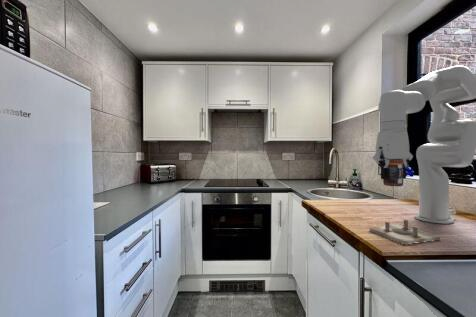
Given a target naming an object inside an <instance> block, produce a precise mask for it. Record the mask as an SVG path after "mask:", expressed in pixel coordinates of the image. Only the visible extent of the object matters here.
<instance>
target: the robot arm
mask: <svg viewBox="0 0 476 317" xmlns="http://www.w3.org/2000/svg"><path fill="white" fill-rule="evenodd" d="M379 98H380V99H379V103H378V106H377V107H378V112H379V115H380V116H379V117H380V118H379V119H380V121H379V122H380V124H379V125H380V129H379V130H380V131H378V133H377V137H376V143H375V144H376V145H375V154H374V156H372V159H373V161H374V162H375V163H376V164H377V165H378V167H379V168H380V179H381V180H383V179H386V180H389V168H387V167H388V165H389V162H390V160H394V159H401V160H402V161H403V180H405V179H407V168H408V164H409V163H411V160H412V159H413V157H414V155H413V154H412V153H411V152H410V141H409V140H410V139H409V135H408V134H409V133H408V131H407V127H408V124H407V115H408V114H414V113H418V112H421V111H422V110H423V109H424V108H425V105H426V102H427V101H429V104H430V107H431V109H432V113H433V118H432V121H431V123H430V126H429V129H428V132H427V141H428V142H429V143H428V142H427V143H424V144H422V145H420V146H418V147H417V149H416V151H415V152H416V153H415V156H416V160H417V165H418V201H419V202H418V212H417V213H415V214H414V218H415V219H417V220H419V221H422V222H426V223H432V224H433V223H434V224H445V225H447V224H453V223H455V219H454V218H453V217H451V215H456V214H457V210H456V209H454V208H453V209H450V208H449V207H450V198H449V197H450V179H449V175H448V173H447V172H446V171H445V169H443V168H466V167H469V166H470V165H471V164H472V163H473V160H474V158H475V155H476V121H475V120H472V119H460V112H459V111H458V110H457V109H456V108H455V107H453V106H452V105H450V104H451V103H457V102H458V103H459V102H465V101H471V100H475V99H476V74H475V73H474V72H473V71H472V70H471V69H470V68H469V67H467V66H465V65H463V64H462V65H454V66H449V67H446V68H442V69H439V70H435V71H432V72H428V74H426V75H424V76H423V77H422V78H420V79H418V80H417V81H415V82H413V83H410V84H407V85H405V86H403V87H401V88H398V89H396V90H389V91H385V92H383V93H381V95H380V97H379ZM384 161H385V163H384Z"/></svg>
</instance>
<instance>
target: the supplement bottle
mask: <svg viewBox="0 0 476 317" xmlns="http://www.w3.org/2000/svg"><path fill="white" fill-rule="evenodd" d="M384 163H385V161H384ZM387 168H389V180H386V179H382V181H383V183H382V184H383V185H384V186H387V187H402V186H404V179H403V161H402V160H401V159H394V160H390V162H389V165H388V167H387Z"/></svg>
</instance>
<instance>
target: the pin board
mask: <svg viewBox="0 0 476 317" xmlns="http://www.w3.org/2000/svg"><path fill="white" fill-rule="evenodd" d="M369 232H371V233H374V234H375V235H378V234H379V235H378V236H380V237H383V236H384V237H383V238H385V239H388V238H389V239H388V240H391V239H392V241H393V240H395V241H398V242H401V243H403V244H409V243H415V242H424V241H432V240H439V239H440V240H441V236H440V235H436V234H432V233H429V232H426V231H423V230H421V229H419V228H418V227H417V226H413V227H411V226H409V220H408V219H403V223H399V224H391V225H390V222H389V221H385V224H384V225H383V226H381V225H380V226H371V227H369ZM440 240H439V241H440ZM395 241H394V242H395ZM398 242H397V243H398ZM432 242H433V241H432ZM403 244H402V245H403Z"/></svg>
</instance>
